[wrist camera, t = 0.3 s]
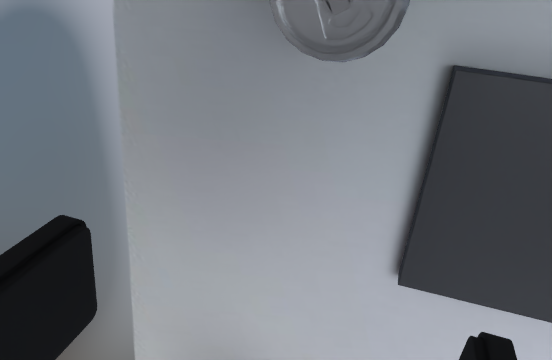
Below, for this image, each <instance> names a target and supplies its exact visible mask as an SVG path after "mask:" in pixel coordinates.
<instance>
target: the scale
mask: <svg viewBox="0 0 552 360" xmlns="http://www.w3.org/2000/svg"><path fill="white" fill-rule="evenodd" d="M398 285H401V286H405V287H409V288H413V289H417V290H421V291H425V292H430V293H434V294H438V295H442V296H446V297H450V298H454V299H458V300H462V301H466V302H470V303H474V304H478V305H482V306H486V307H490V308H494V309H498V310H502V311H506V312H511V313H515V314H519V315H523V316H527V317H531V318H535V319H539V320H543V321H547V322H551V323H552V79H548V78H540V77H533V76H526V75H519V74H512V73H505V72H498V71H490V70H483V69H476V68H469V67H462V66H454V67H453V71H452V75H451V79H450V82H449V86H448V90H447V94H446V97H445V101H444V105H443V109H442V112H441V116H440V120H439V124H438V127H437V131H436V135H435V139H434V142H433V146H432V150H431V154H430V157H429V161H428V165H427V169H426V172H425V176H424V180H423V184H422V187H421V191H420V195H419V199H418V202H417V206H416V210H415V214H414V217H413V221H412V225H411V229H410V232H409V236H408V240H407V244H406V247H405V251H404V255H403V259H402V262H401V266H400V270H399V274H398Z"/></svg>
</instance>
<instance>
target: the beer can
mask: <svg viewBox="0 0 552 360" xmlns="http://www.w3.org/2000/svg"><path fill="white" fill-rule="evenodd" d="M269 1H270V5H271V8H272V12H273V15H274V19H275V22H276V24H277V25H278V27H279V28H280V30H281V32H282V33H283V35H284V36H285V38H286V39H287V40H288V41H289V42H290V43H291V44H293V45H294V46H295V47H296V48H297V49H298V50H300V51H301V52H302V53H305V54H307V55H310V56H312V57H315V58H317V59H319V60H322V61H332V62H347V61H351V60H355V59H358V58H362V57H365V56H367V55H368V54H370V53H372V52H373V51H375V50H376V49H378V48H380V47H381V46H383V45H384V44H385V43H386V42H387V40H388V39H389V38H390V37H391V36H392V35H393V33H394V32H395V31H396V30H397V29H398V28H399V26H400V24H401V22H402V19H403V17H404V15H405V13H406V10H407V8H408V6H409V3H410V0H269Z"/></svg>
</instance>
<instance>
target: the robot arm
mask: <svg viewBox="0 0 552 360" xmlns="http://www.w3.org/2000/svg"><path fill="white" fill-rule="evenodd" d="M96 311H97V299H96V288H95V277H94V266H93V255H92V244H91V233H90V230H89V228H87V227H86V224H85V222H84V221H82V220H79V219H76V218H72V217H68V216H65V215H60V216H58V217H56V218H54V219H53V220H51V221H50V222H48V223H47V224H45V225H44V226H42V227H41V228H39V229H38V230H37V231H35V232H34V233H32V234H31V235H29V236H28V237H26V238H25V239H23V240H22V241H20V242H19V243H18V244H16V245H15V246H13V247H12V248H10V249H9V250H7V251H6V252H4V253H3V254H1V255H0V360H55V359H56V358H57V357H58V356H59V355H60V354H61V353H62V352H63V351H64V350H65V349H66V348H67V347H68V346H69V344H70V343H71V342H72V341H73V340H74V339H75V338H76V337H77V336H78V335H79V334H80V333H81V332H82V330H83V329H84V328H85V327H86V326H87V325H88V324H89V323H90V322H91V321H92V319H93V318H94V316H95V314H96ZM459 360H517V357H516V354H515V350H514V346H513V343H512V341H511V340H510V339H506V338H503V337H499V336H496V335H492V334H488V333H485V332H481V333H480V334H479V335H478V337H474V336H470V337H469V338H468V340H467V342H466V345H465V347H464V349H463V351H462V354H461V356H460V358H459Z"/></svg>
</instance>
